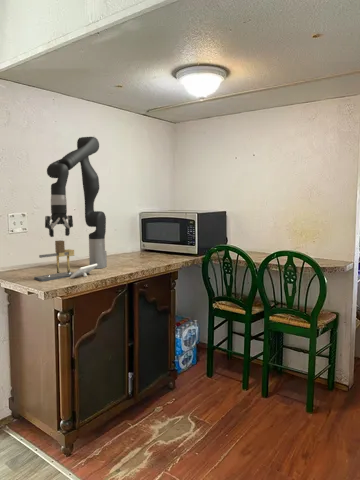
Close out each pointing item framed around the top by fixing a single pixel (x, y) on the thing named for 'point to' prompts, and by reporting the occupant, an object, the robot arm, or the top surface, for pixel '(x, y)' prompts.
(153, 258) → the top surface
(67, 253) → the dividers frame
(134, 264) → the top surface
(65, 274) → the bolt plate
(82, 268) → the light switch
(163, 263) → the top surface
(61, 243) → the block
